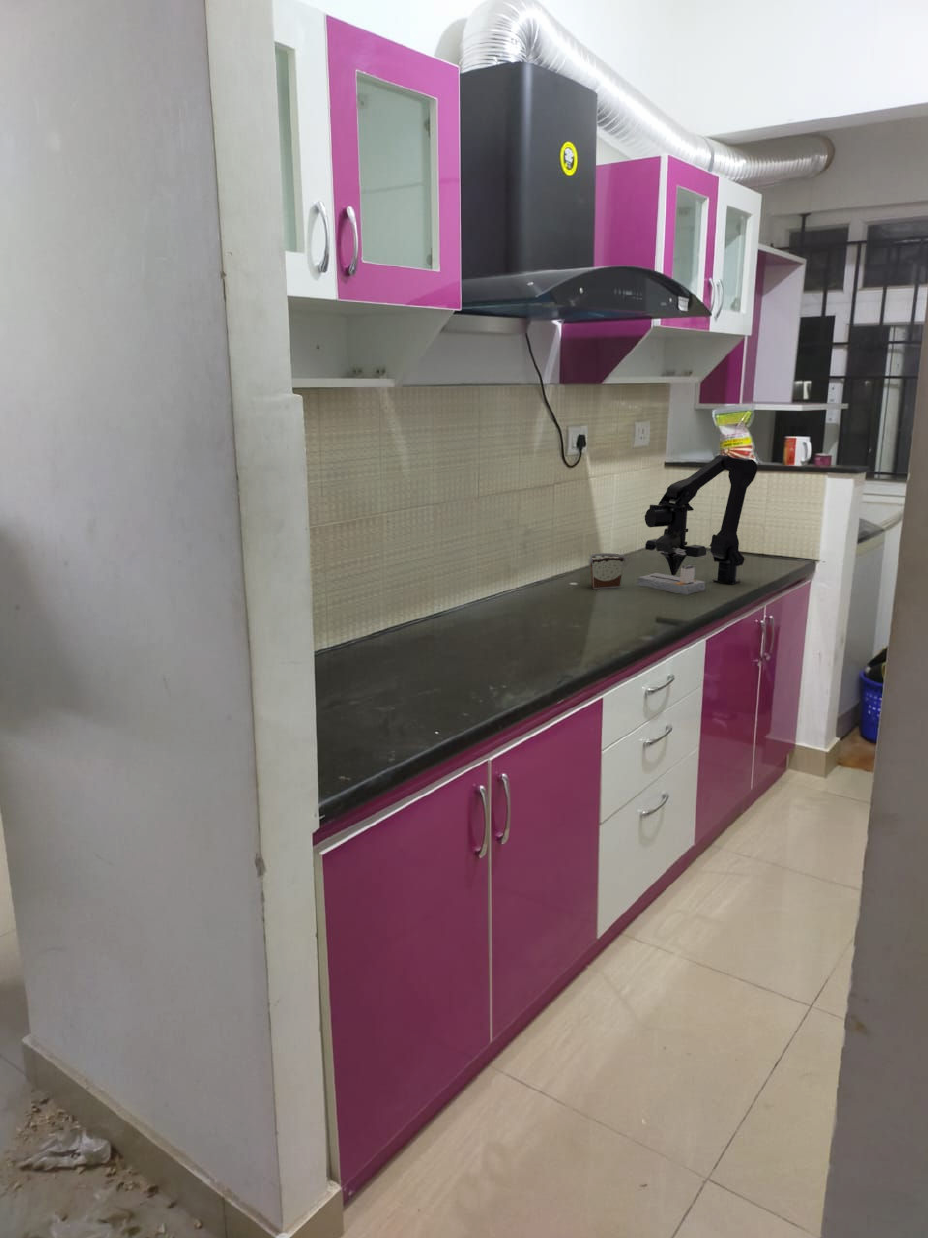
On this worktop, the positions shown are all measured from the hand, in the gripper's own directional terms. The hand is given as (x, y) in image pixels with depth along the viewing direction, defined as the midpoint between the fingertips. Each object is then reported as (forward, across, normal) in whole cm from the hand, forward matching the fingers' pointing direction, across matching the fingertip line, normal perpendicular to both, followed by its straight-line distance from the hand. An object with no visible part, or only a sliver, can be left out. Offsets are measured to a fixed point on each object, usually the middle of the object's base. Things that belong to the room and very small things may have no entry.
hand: (673, 575), depth 287 cm
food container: (+4, -17, -14) cm, 22 cm away
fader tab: (+1, +5, 0) cm, 5 cm away
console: (+4, -1, 0) cm, 4 cm away
